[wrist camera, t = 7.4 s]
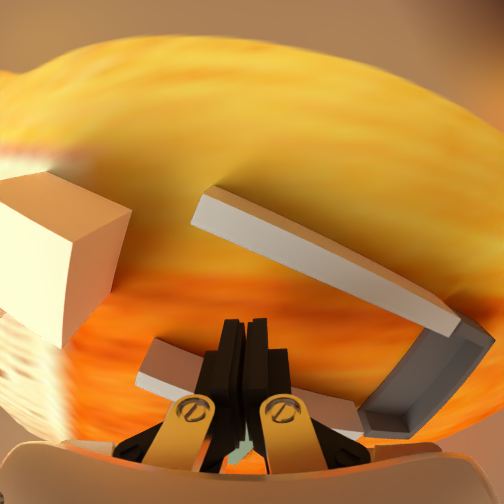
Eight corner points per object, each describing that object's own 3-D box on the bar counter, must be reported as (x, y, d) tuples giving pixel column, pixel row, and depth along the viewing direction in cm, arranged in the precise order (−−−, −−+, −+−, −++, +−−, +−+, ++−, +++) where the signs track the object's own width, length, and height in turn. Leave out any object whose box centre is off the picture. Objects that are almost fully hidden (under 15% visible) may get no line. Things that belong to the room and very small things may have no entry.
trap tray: (477, 322, 16) (495, 340, 13) (399, 418, 18) (408, 439, 16) (441, 302, 15) (463, 322, 12) (355, 411, 18) (364, 436, 15)
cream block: (133, 209, 13) (72, 242, 8) (110, 292, 15) (61, 349, 9) (47, 171, 12) (-24, 186, 7) (33, 250, 14) (-26, 286, 9)
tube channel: (434, 294, 15) (461, 319, 12) (343, 411, 18) (353, 442, 15) (213, 185, 13) (202, 193, 10) (149, 351, 16) (134, 385, 13)
